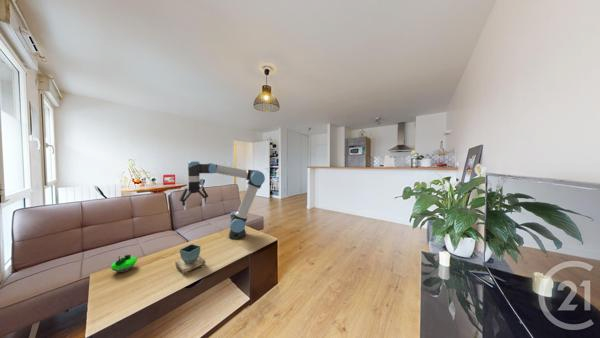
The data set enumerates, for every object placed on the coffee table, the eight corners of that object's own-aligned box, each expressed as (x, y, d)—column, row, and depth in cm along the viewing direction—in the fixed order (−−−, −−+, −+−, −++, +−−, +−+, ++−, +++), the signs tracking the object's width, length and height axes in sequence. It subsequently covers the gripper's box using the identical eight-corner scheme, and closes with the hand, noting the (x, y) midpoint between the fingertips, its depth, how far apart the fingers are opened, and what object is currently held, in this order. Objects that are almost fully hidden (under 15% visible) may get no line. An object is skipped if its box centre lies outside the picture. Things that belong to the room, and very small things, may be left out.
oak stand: (196, 259, 128) (196, 253, 128) (205, 266, 120) (205, 260, 120) (175, 268, 118) (175, 262, 117) (183, 276, 110) (183, 269, 110)
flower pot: (179, 263, 116) (179, 249, 116) (191, 256, 124) (191, 243, 124) (189, 266, 113) (188, 252, 113) (201, 259, 121) (200, 246, 121)
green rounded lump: (128, 275, 110) (127, 258, 109) (105, 276, 108) (105, 259, 108) (141, 263, 122) (141, 248, 121) (122, 264, 120) (121, 249, 119)
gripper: (207, 179, 152) (208, 204, 154) (173, 182, 132) (174, 210, 134) (212, 180, 148) (212, 205, 149) (177, 183, 128) (178, 212, 129)
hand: (194, 207), depth 141 cm, fingers open, 13 cm apart
